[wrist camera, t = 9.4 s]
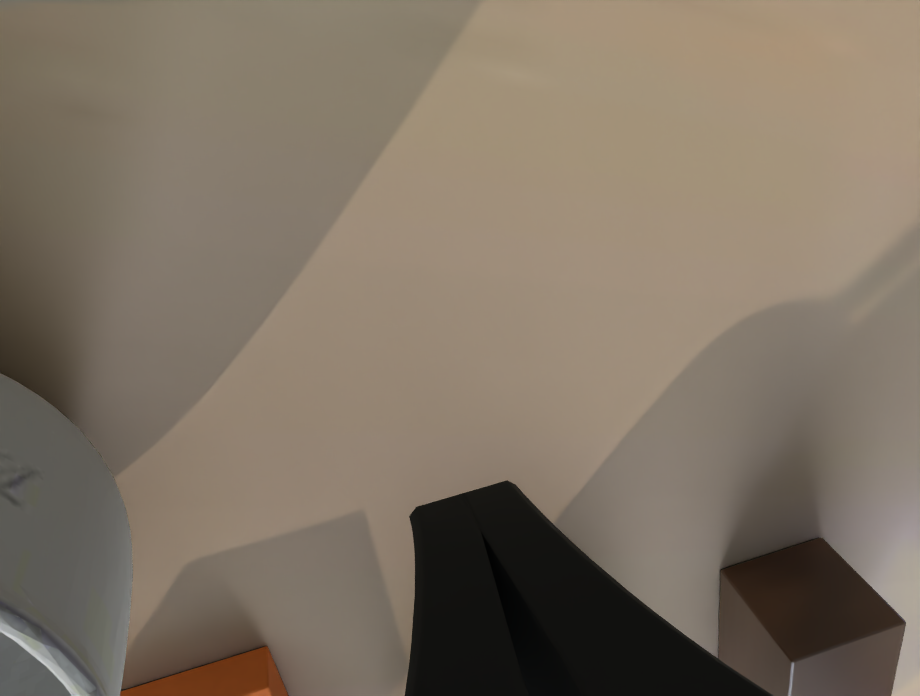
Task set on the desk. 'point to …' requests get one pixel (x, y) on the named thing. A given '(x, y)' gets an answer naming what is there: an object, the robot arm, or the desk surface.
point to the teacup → (59, 556)
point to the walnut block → (808, 625)
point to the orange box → (221, 679)
